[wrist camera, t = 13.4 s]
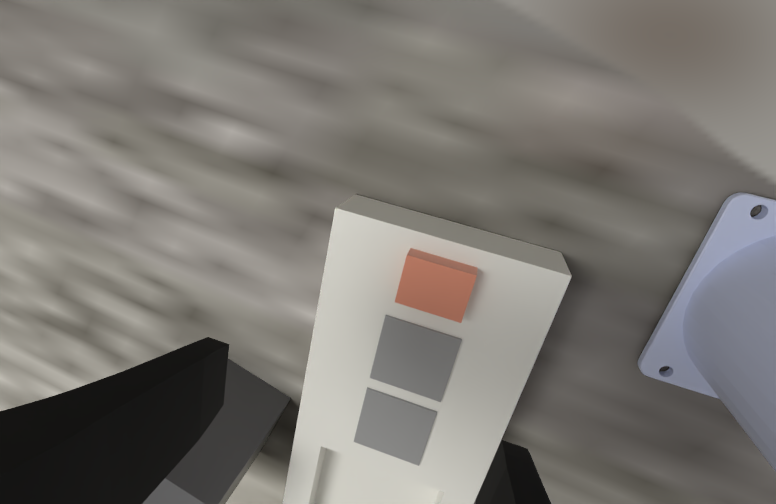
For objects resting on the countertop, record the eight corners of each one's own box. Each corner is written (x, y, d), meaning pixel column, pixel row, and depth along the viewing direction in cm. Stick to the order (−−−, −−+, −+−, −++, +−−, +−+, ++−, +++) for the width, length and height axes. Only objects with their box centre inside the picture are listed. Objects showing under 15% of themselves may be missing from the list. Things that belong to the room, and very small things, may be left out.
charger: (291, 398, 23) (214, 509, 17) (260, 451, 25) (180, 569, 19) (215, 350, 24) (111, 443, 17) (190, 407, 26) (88, 510, 19)
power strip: (560, 252, 17) (575, 285, 14) (427, 578, 26) (417, 644, 22) (355, 194, 19) (328, 212, 15) (291, 523, 27) (264, 578, 24)
